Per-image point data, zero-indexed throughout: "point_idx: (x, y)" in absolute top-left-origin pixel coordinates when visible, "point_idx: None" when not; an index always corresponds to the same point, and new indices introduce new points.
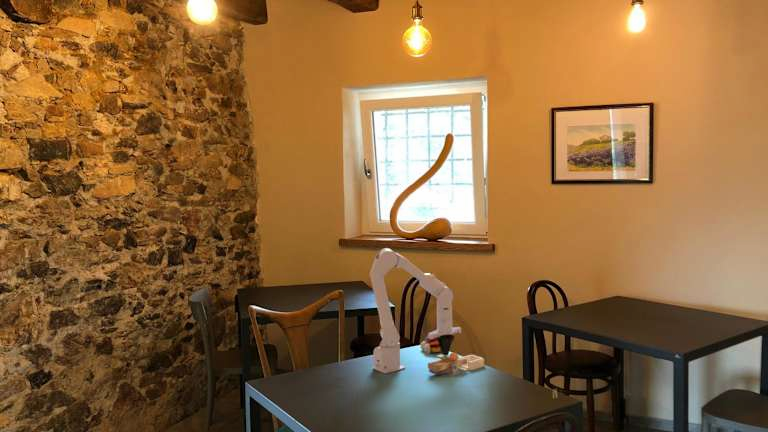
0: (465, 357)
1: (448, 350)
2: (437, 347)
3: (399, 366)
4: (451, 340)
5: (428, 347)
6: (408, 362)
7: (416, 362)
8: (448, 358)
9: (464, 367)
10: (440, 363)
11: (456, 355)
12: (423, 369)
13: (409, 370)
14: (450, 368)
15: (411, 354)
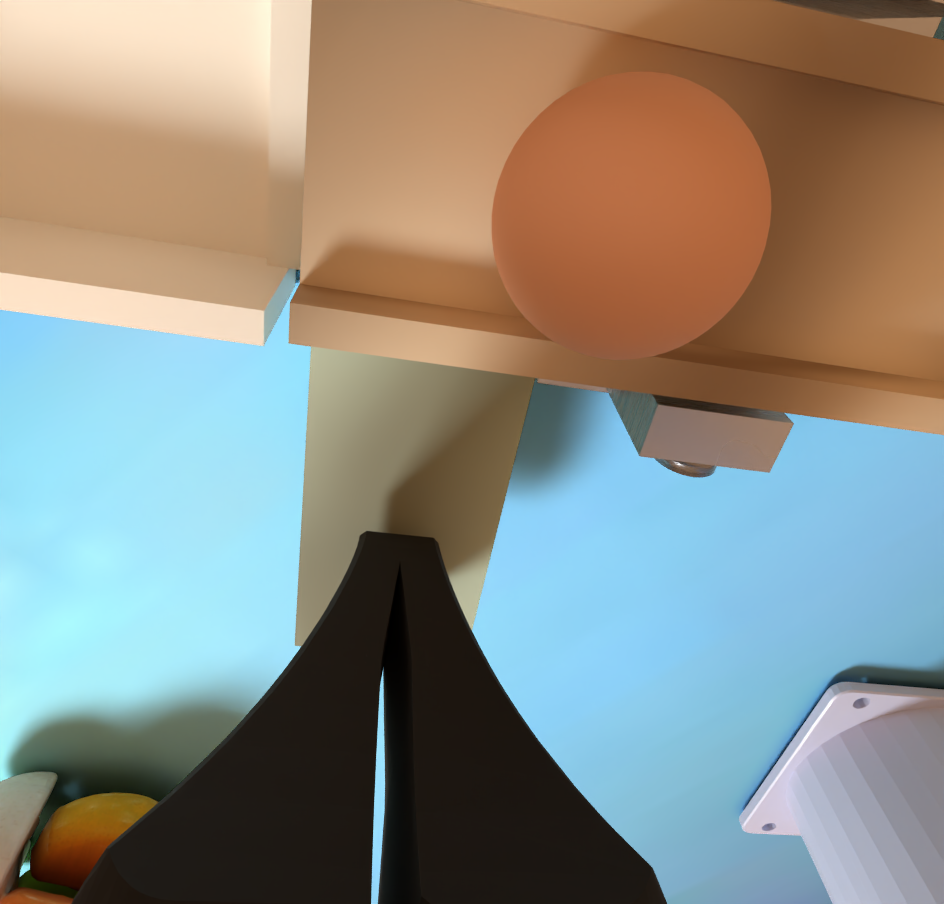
0: (32, 272)
1: (374, 588)
2: (85, 854)
3: (894, 728)
4: (268, 802)
5: None
6: (606, 769)
7: (554, 729)
8: None
9: None
10: (897, 327)
11: (669, 107)
12: (748, 543)
13: (863, 621)
14: (928, 13)
15: (372, 873)
